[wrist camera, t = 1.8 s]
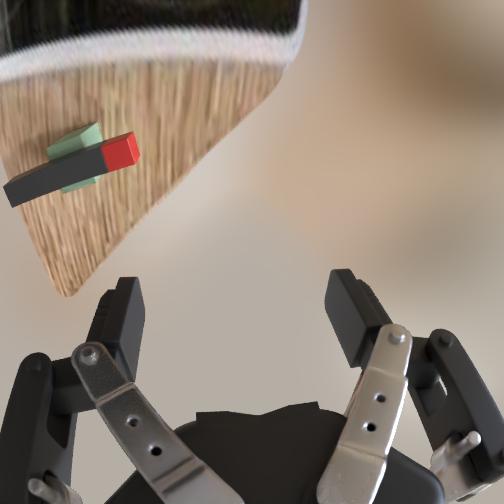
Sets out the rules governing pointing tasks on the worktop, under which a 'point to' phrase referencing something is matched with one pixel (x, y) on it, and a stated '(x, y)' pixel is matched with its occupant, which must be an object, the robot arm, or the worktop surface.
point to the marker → (73, 168)
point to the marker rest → (74, 143)
